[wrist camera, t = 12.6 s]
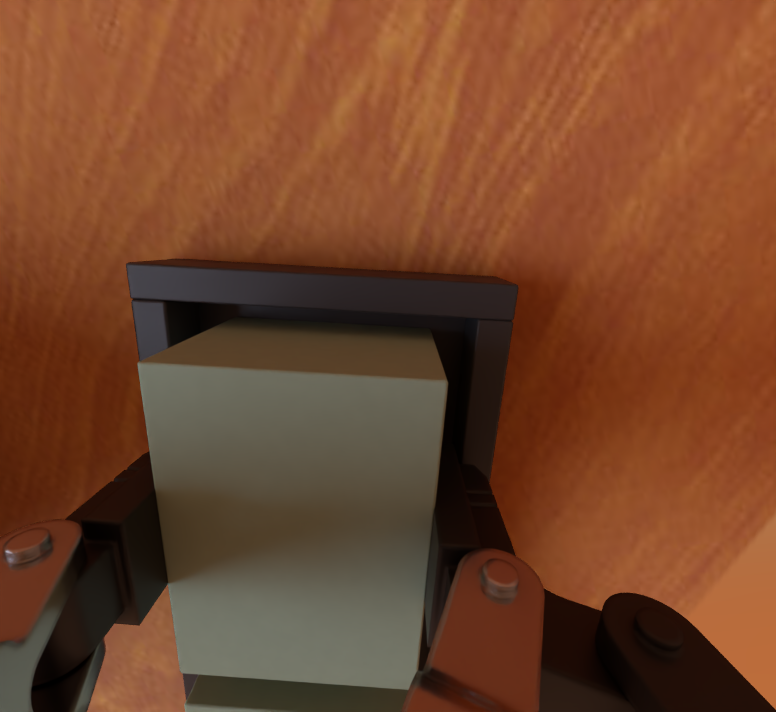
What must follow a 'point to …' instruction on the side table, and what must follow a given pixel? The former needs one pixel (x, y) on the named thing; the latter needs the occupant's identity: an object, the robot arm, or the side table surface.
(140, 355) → the dark brown rectangular tray
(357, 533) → the plain gray rectangular block
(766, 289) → the side table surface
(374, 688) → the grey-green block
